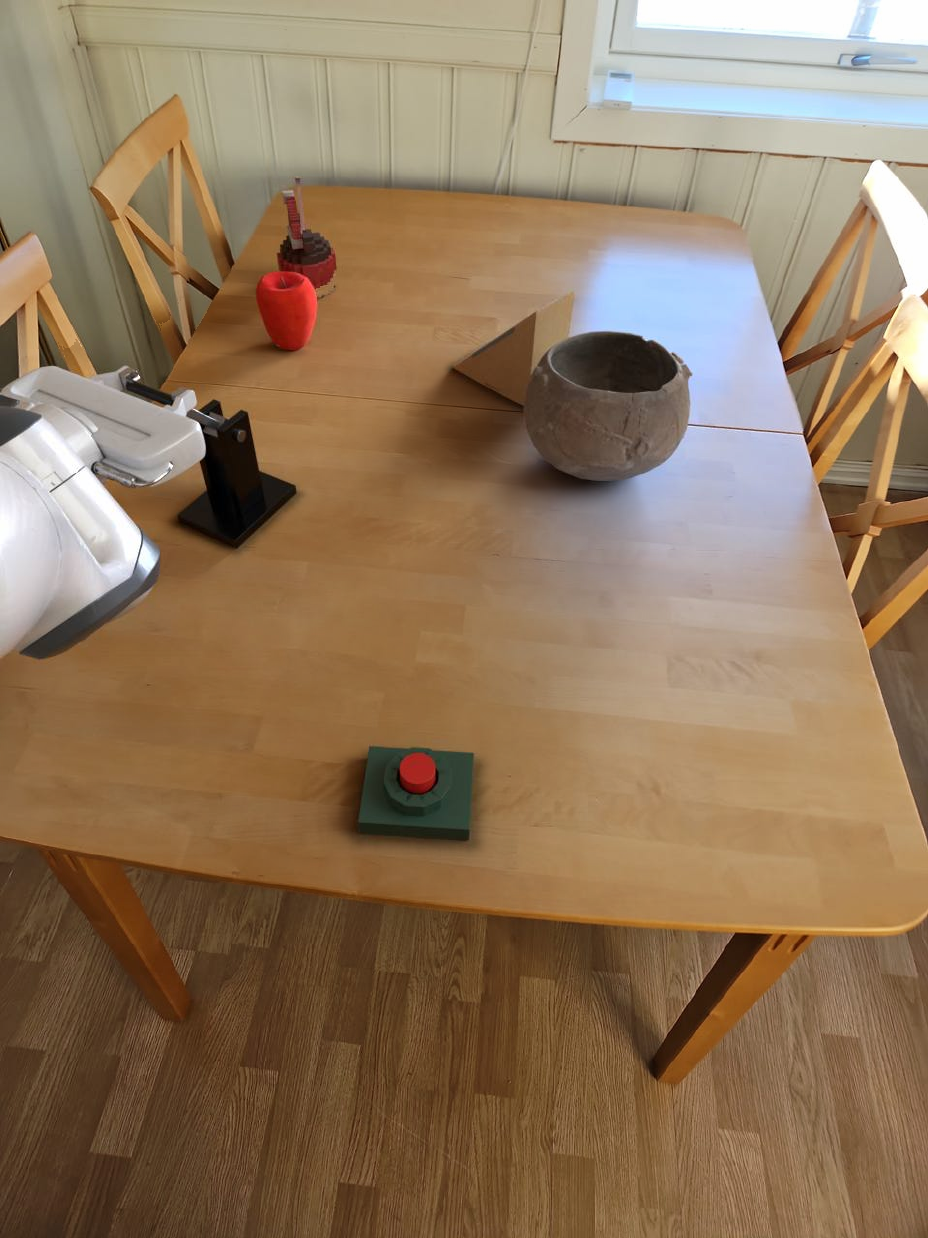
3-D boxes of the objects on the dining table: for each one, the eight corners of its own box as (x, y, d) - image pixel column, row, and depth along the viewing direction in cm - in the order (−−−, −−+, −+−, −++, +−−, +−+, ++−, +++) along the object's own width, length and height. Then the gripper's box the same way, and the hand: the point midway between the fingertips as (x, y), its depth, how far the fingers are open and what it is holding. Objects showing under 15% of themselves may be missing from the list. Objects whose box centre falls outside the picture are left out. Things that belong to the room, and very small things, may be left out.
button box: (359, 833, 74) (356, 812, 71) (370, 758, 80) (368, 735, 77) (468, 841, 74) (470, 820, 71) (473, 764, 80) (475, 742, 77)
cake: (342, 300, 139) (333, 187, 125) (287, 306, 137) (271, 193, 123) (331, 271, 145) (321, 161, 132) (278, 276, 143) (262, 166, 130)
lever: (167, 412, 81) (176, 389, 81) (121, 394, 83) (130, 371, 83) (244, 449, 95) (252, 430, 95) (204, 433, 96) (211, 414, 96)
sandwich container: (487, 346, 130) (493, 252, 119) (563, 385, 124) (576, 289, 113) (450, 367, 126) (452, 271, 115) (526, 408, 119) (536, 311, 108)
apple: (326, 331, 132) (319, 265, 124) (313, 360, 126) (306, 293, 118) (271, 327, 132) (261, 260, 124) (257, 355, 126) (245, 288, 118)
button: (398, 792, 73) (397, 782, 72) (402, 761, 75) (401, 751, 74) (433, 795, 73) (434, 785, 72) (436, 764, 75) (436, 754, 74)
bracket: (236, 548, 98) (214, 455, 88) (178, 523, 101) (150, 429, 91) (296, 493, 105) (282, 400, 95) (241, 470, 108) (221, 378, 98)
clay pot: (495, 478, 109) (503, 378, 97) (551, 398, 121) (564, 302, 110) (649, 527, 103) (676, 428, 92) (690, 438, 116) (719, 341, 105)
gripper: (133, 463, 70) (237, 386, 78) (-35, 393, 76) (78, 328, 84) (152, 519, 74) (248, 441, 83) (-8, 449, 80) (97, 382, 89)
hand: (161, 383), depth 83 cm, fingers closed on lever, 6 cm apart
